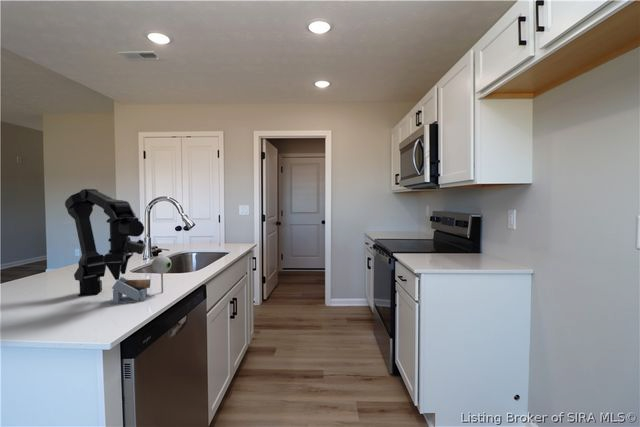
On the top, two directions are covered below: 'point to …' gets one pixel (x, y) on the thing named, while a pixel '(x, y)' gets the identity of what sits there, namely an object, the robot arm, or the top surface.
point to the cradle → (127, 293)
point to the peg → (138, 283)
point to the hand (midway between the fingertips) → (120, 276)
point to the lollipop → (161, 266)
